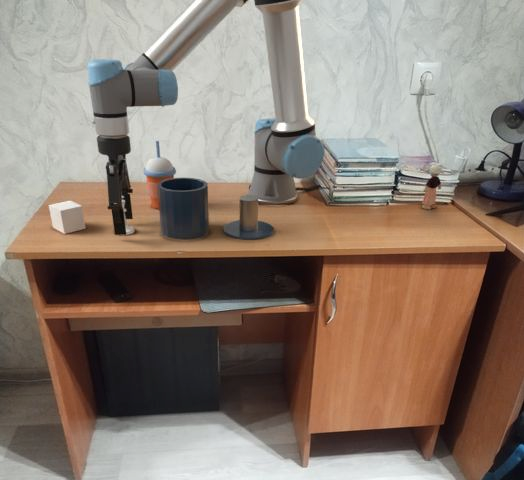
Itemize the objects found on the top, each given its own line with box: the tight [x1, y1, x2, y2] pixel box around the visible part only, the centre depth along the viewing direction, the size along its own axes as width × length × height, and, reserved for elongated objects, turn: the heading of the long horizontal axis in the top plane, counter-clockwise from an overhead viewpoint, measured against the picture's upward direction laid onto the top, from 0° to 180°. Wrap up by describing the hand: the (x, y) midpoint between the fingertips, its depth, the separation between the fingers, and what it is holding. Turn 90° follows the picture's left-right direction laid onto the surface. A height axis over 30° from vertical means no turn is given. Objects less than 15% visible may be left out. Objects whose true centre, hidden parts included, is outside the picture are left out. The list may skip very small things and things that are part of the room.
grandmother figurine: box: [421, 163, 442, 210], centre depth 154 cm, size 8×4×13 cm, turn 139°
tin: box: [157, 177, 210, 241], centre depth 132 cm, size 12×12×12 cm
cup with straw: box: [142, 140, 177, 210], centre depth 148 cm, size 9×9×18 cm
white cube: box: [48, 200, 87, 235], centre depth 134 cm, size 6×6×6 cm
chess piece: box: [122, 196, 135, 236], centre depth 132 cm, size 5×5×10 cm
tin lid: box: [222, 194, 275, 241], centre depth 134 cm, size 13×13×9 cm
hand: (124, 226), depth 133 cm, fingers open, 11 cm apart
